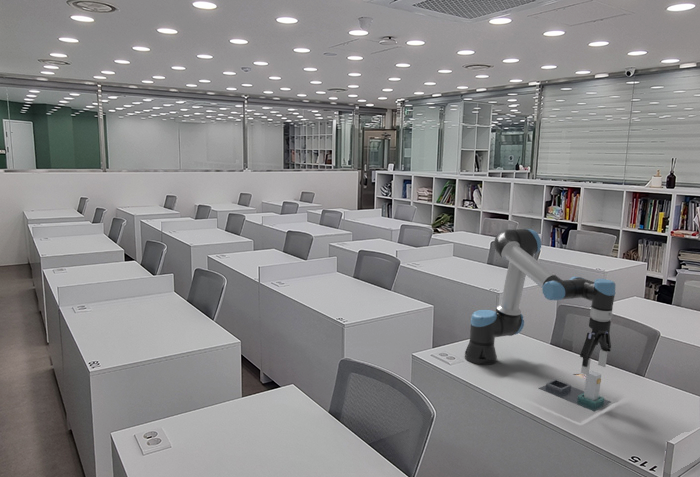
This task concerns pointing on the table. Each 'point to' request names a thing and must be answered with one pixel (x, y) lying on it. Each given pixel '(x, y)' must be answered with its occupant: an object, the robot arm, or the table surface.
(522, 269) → the robot arm
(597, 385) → the plug
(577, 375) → the smartphone
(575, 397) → the panel
